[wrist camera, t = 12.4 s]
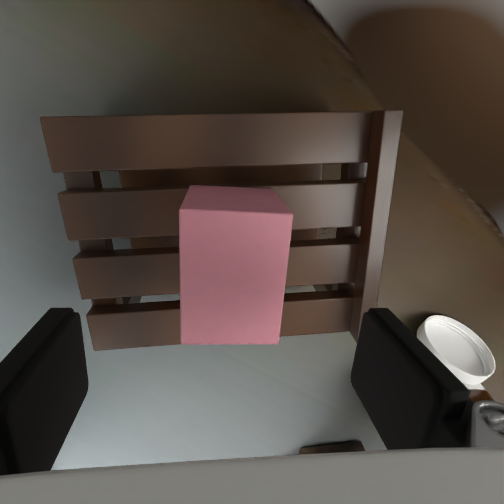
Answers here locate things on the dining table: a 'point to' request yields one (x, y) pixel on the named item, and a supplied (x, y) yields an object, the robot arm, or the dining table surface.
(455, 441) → the robot arm
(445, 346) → the spread jar
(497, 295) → the dining table surface
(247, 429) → the dining table surface
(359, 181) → the rack
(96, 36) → the dining table surface
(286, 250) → the pink box
